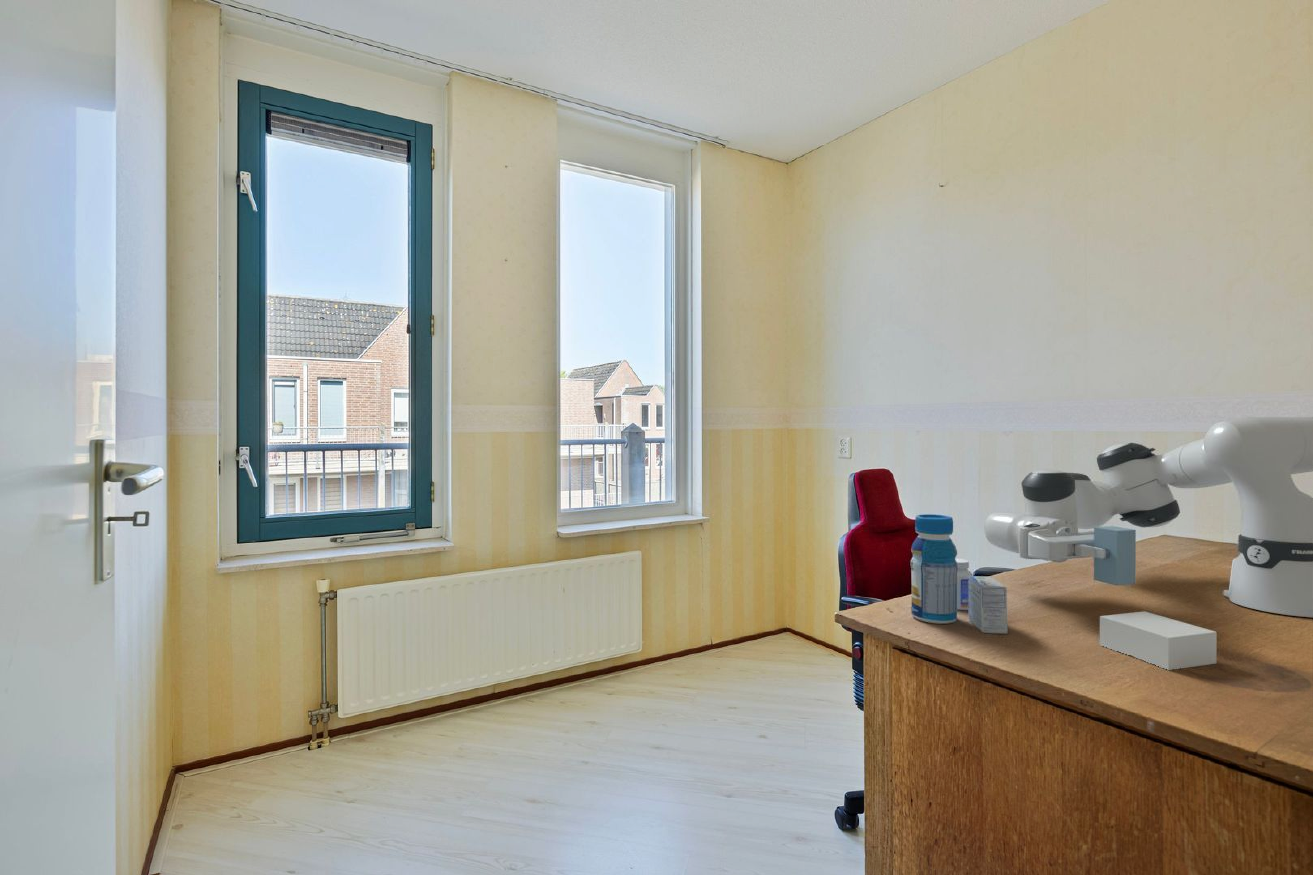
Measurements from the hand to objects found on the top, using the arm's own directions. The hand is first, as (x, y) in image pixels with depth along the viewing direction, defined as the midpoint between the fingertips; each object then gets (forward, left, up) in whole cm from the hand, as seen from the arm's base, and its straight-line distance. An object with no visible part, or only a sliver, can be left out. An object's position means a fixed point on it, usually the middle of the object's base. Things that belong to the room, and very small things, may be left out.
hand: (1119, 553), depth 112 cm
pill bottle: (+19, -19, -14) cm, 30 cm away
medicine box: (+23, -7, -14) cm, 28 cm away
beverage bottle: (+29, -14, -14) cm, 35 cm away
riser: (+7, +12, -14) cm, 19 cm away
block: (0, -1, -6) cm, 6 cm away
